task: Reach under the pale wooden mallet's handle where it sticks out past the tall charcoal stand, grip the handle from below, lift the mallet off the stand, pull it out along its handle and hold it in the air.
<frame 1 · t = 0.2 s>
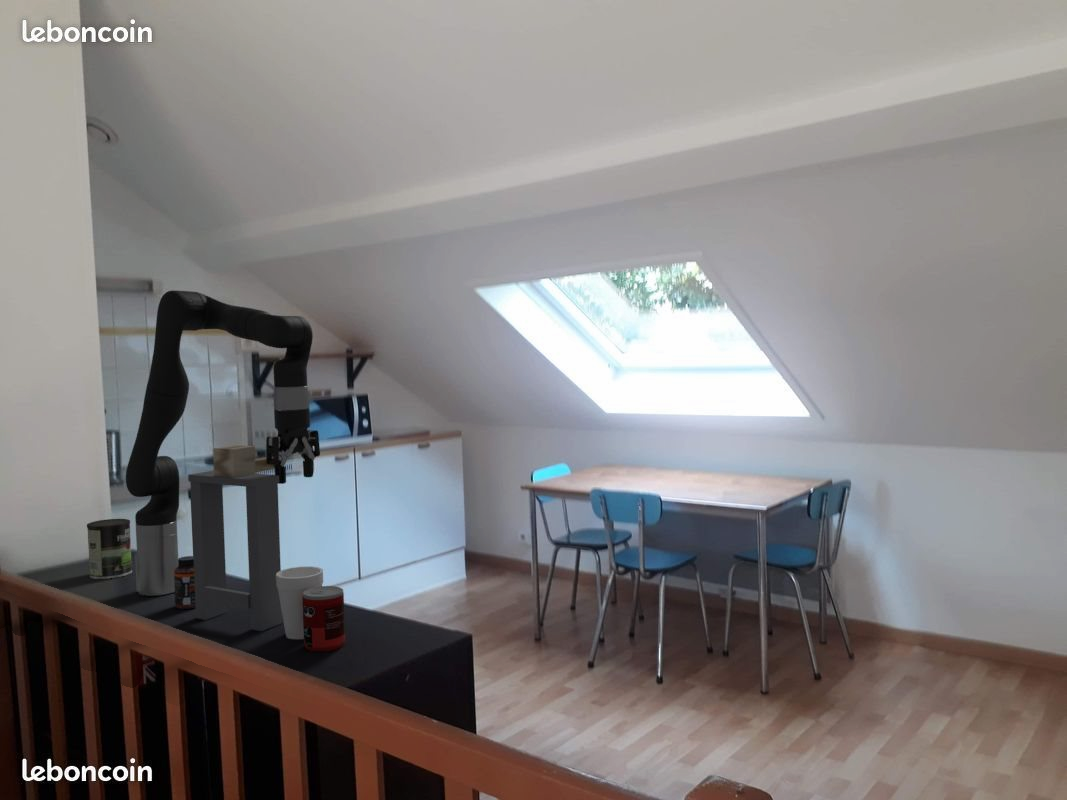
hand: (295, 480, 185), 30 cm above the cabinet top, tool pointing down, fingers open, 8 cm apart
canned food: (324, 646, 166), on the cabinet top
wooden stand: (238, 620, 183), on the cabinet top
coffee can: (111, 575, 224), on the cabinet top
supplement bottle: (189, 606, 194), on the cabinet top
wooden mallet: (249, 472, 185), point 32 cm above the cabinet top, touching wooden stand
foam cup: (301, 635, 173), on the cabinet top
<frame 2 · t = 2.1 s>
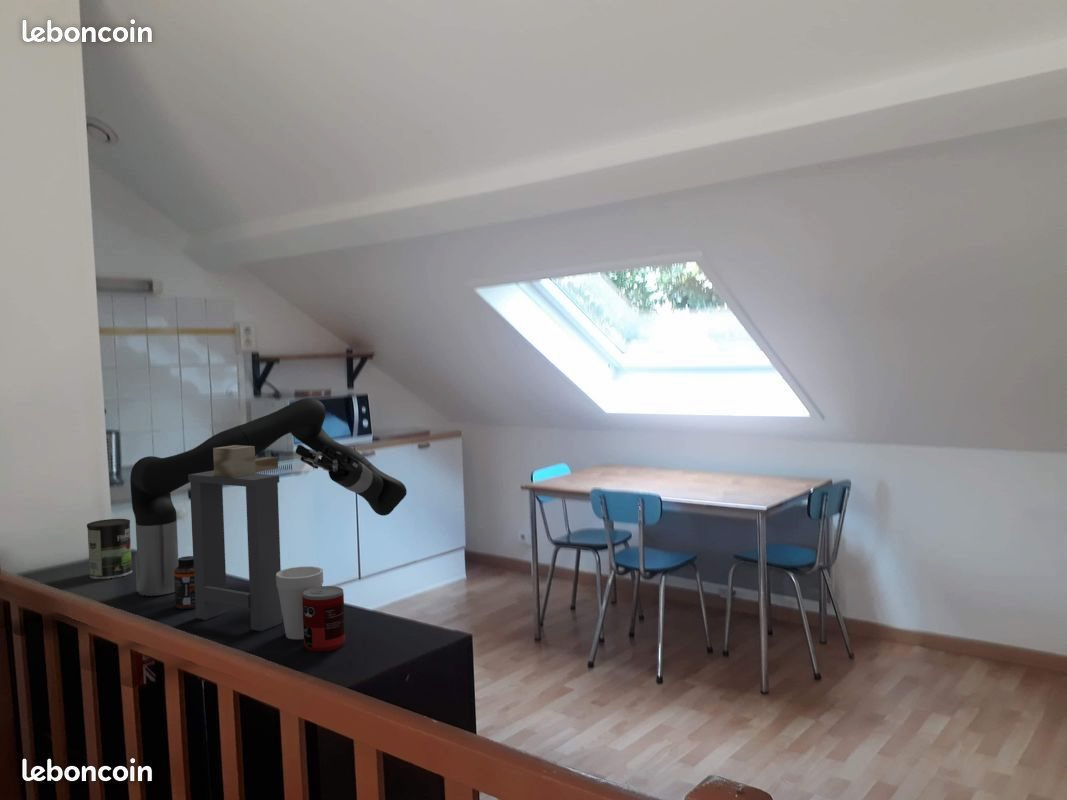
hand: (310, 449, 201), 35 cm above the cabinet top, tool pointing upward, fingers open, 8 cm apart
nothing on the cabinet top moved.
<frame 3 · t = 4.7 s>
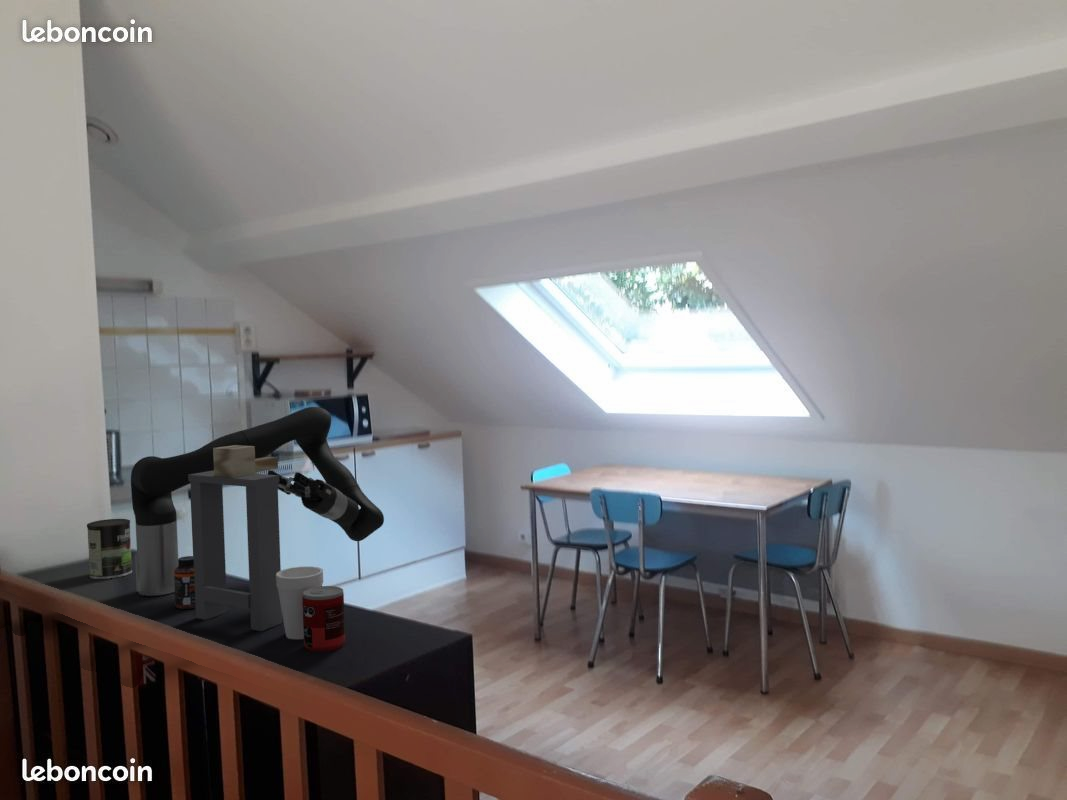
hand: (281, 475, 193), 30 cm above the cabinet top, tool pointing upward, fingers open, 8 cm apart
nothing on the cabinet top moved.
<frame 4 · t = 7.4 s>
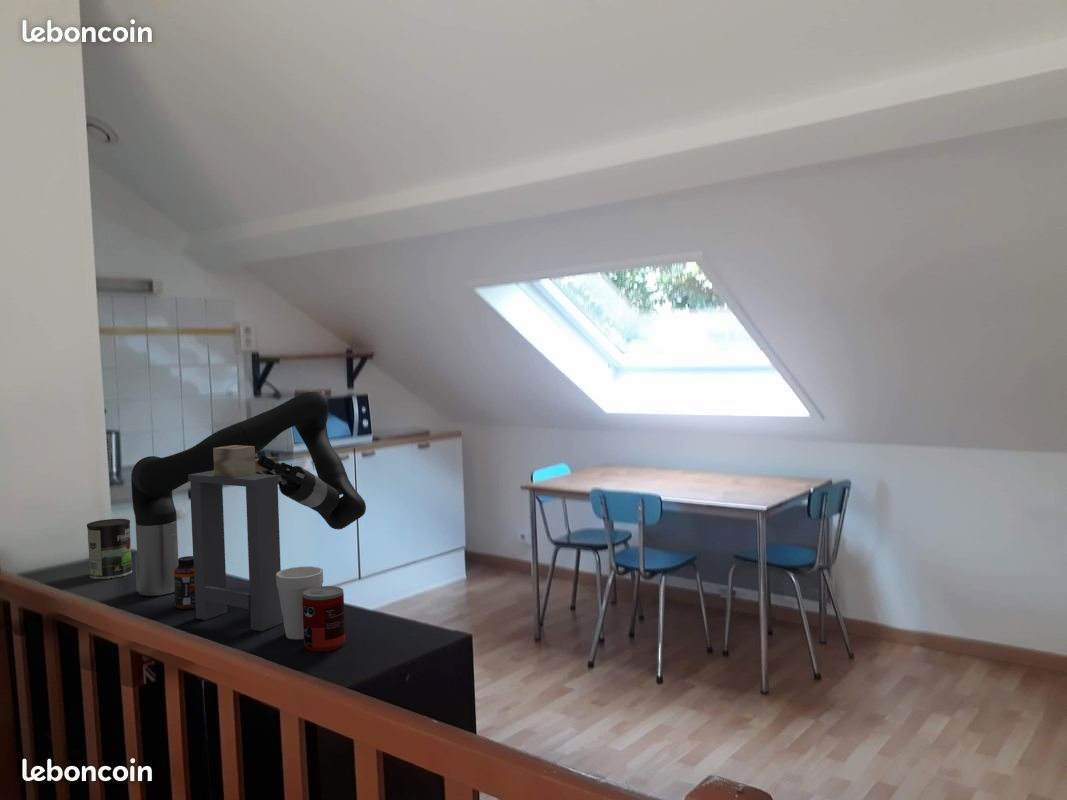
hand: (254, 459, 186), 35 cm above the cabinet top, tool pointing upward, fingers closed on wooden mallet, 3 cm apart
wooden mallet: (249, 472, 185), point 32 cm above the cabinet top, touching gripper, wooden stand
everything else where it was.
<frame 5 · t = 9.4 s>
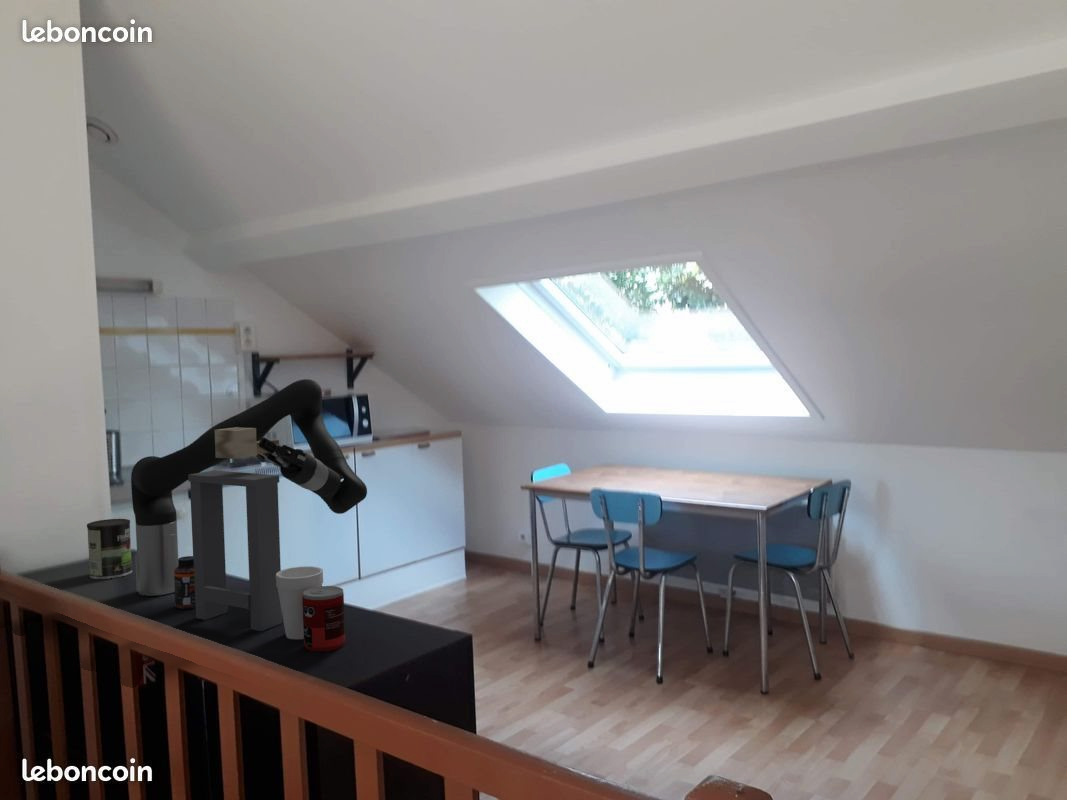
hand: (255, 441, 186), 39 cm above the cabinet top, tool pointing upward, fingers closed on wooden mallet, 3 cm apart
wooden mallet: (250, 454, 185), point 36 cm above the cabinet top, touching gripper
everything else where it was.
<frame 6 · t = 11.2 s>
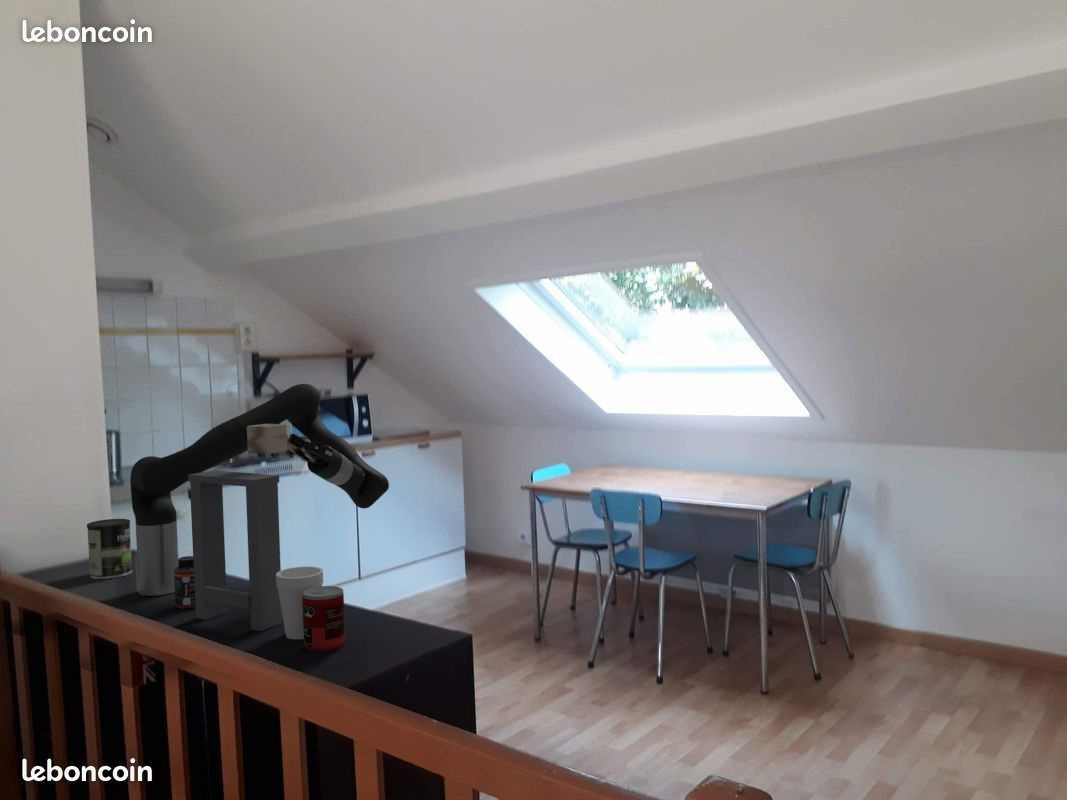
hand: (285, 437, 194), 39 cm above the cabinet top, tool pointing upward, fingers closed on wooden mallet, 3 cm apart
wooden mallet: (280, 449, 193), point 36 cm above the cabinet top, touching gripper
everything else where it was.
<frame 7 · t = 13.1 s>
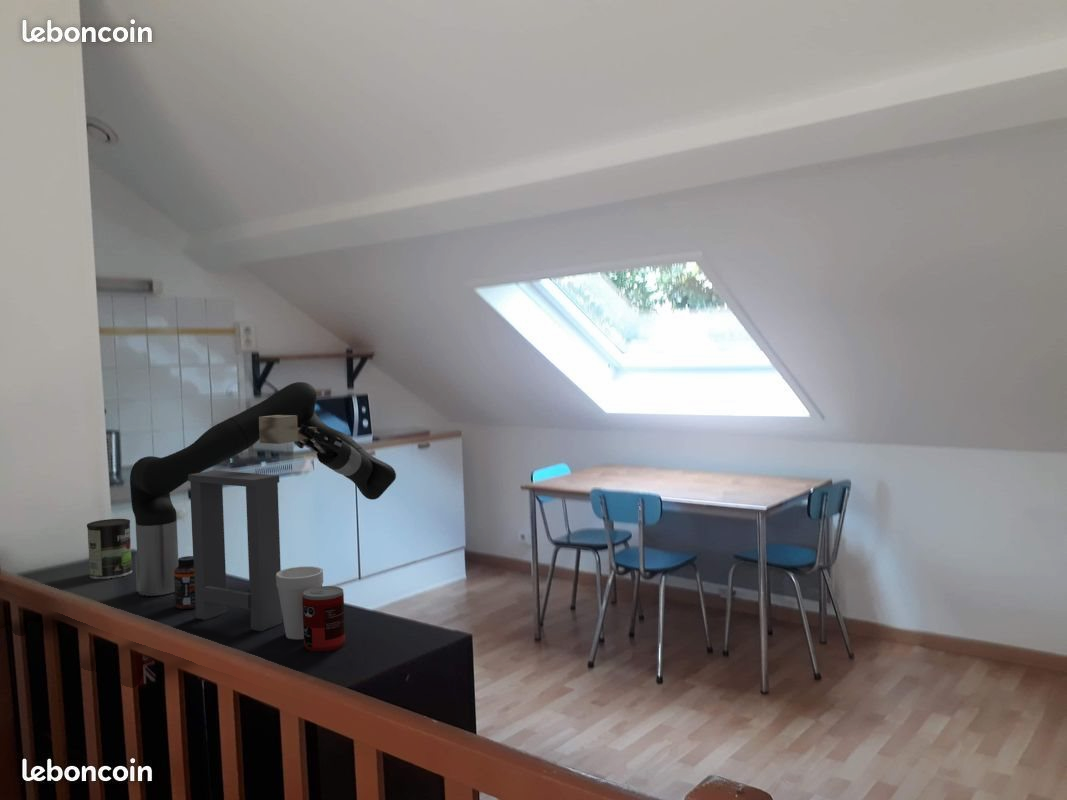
hand: (295, 428, 198), 40 cm above the cabinet top, tool pointing upward, fingers closed on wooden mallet, 3 cm apart
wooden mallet: (291, 440, 197), point 38 cm above the cabinet top, touching gripper
everything else where it was.
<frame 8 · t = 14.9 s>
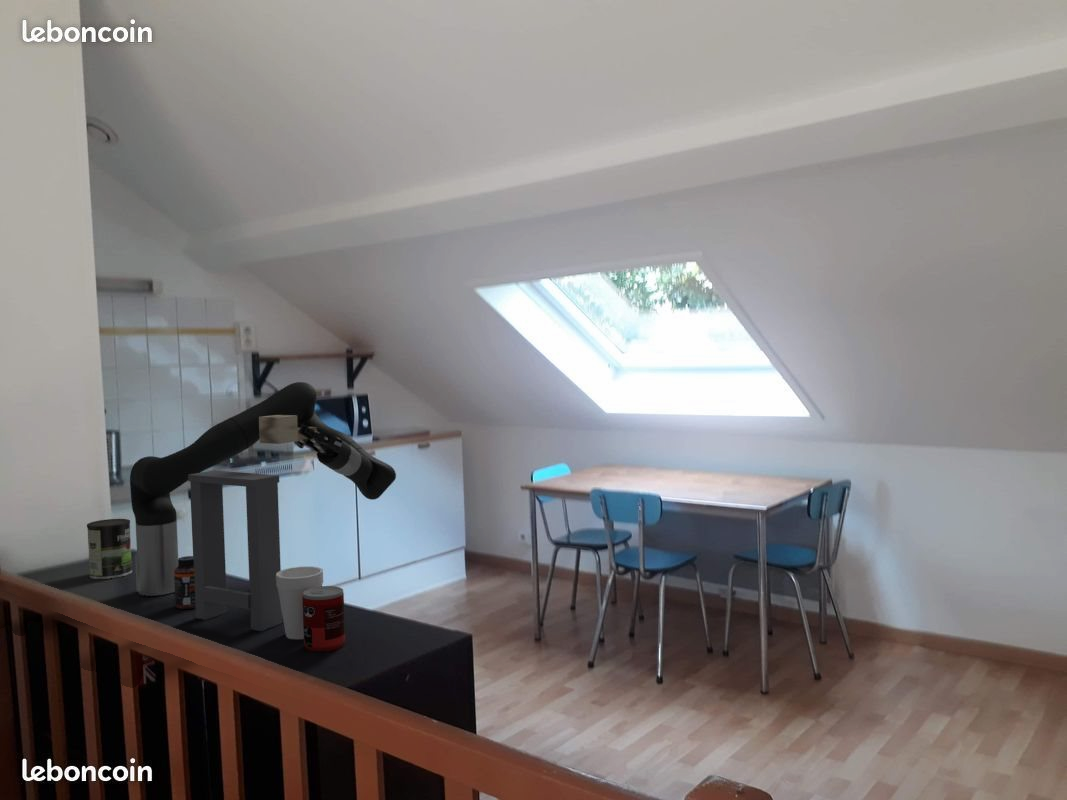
hand: (295, 428, 198), 40 cm above the cabinet top, tool pointing upward, fingers closed on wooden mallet, 3 cm apart
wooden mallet: (291, 440, 197), point 38 cm above the cabinet top, touching gripper
everything else where it was.
at the end: the gripper is holding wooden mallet; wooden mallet touching gripper; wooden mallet inside the target area (1.1 cm from its centre), point 37.6 cm above the cabinet top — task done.
